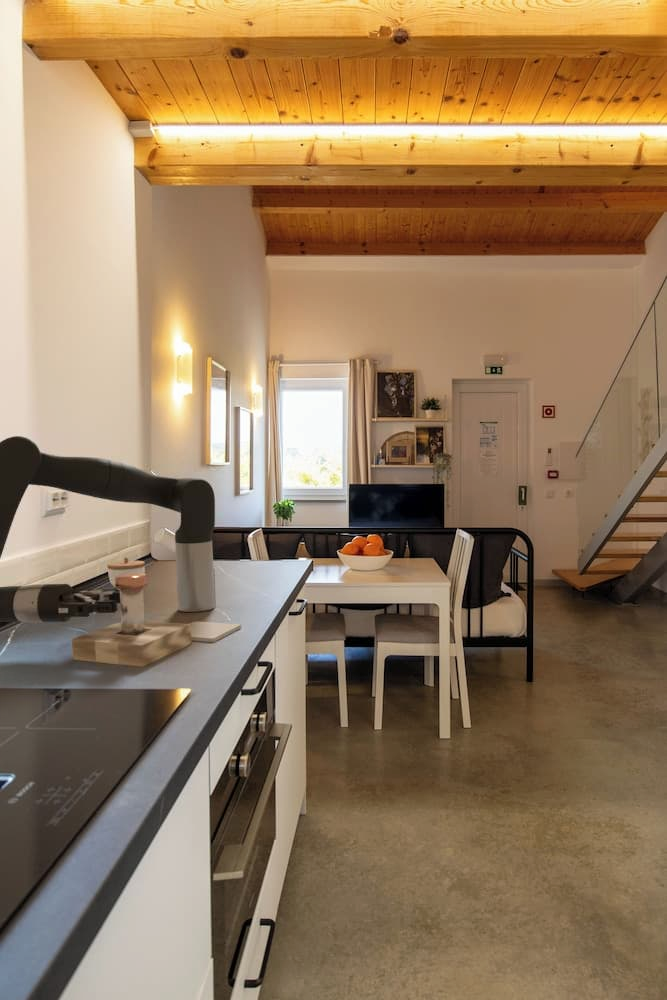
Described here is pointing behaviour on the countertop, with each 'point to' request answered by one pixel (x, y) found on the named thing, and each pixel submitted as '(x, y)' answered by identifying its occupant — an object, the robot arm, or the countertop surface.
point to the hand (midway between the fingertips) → (124, 601)
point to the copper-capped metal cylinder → (132, 602)
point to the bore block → (131, 644)
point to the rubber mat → (211, 631)
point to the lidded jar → (125, 569)
